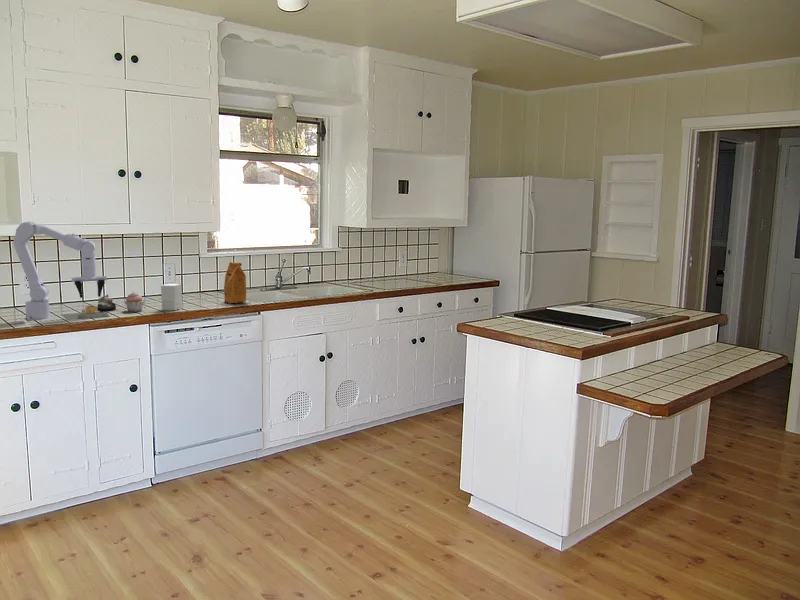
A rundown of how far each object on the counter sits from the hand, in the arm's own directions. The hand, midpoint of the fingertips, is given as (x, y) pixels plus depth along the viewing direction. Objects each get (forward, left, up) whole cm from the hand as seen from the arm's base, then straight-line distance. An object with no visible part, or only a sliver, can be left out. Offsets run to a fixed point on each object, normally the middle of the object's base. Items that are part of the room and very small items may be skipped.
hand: (90, 297), depth 312 cm
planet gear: (0, 0, -9) cm, 9 cm away
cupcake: (+22, +11, -10) cm, 26 cm away
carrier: (-2, +3, -10) cm, 10 cm away
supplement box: (+39, +7, -10) cm, 41 cm away
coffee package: (+75, +14, -10) cm, 77 cm away
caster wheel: (+11, +16, -10) cm, 21 cm away
